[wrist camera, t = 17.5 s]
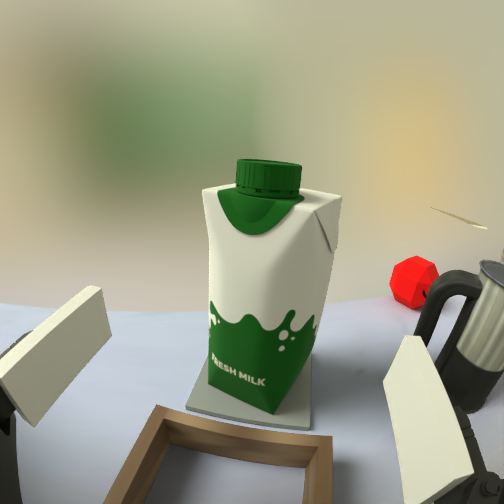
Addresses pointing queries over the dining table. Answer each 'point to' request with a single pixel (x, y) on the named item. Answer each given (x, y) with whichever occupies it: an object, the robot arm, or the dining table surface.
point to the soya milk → (266, 278)
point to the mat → (228, 407)
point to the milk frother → (468, 333)
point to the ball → (413, 281)
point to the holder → (221, 453)
